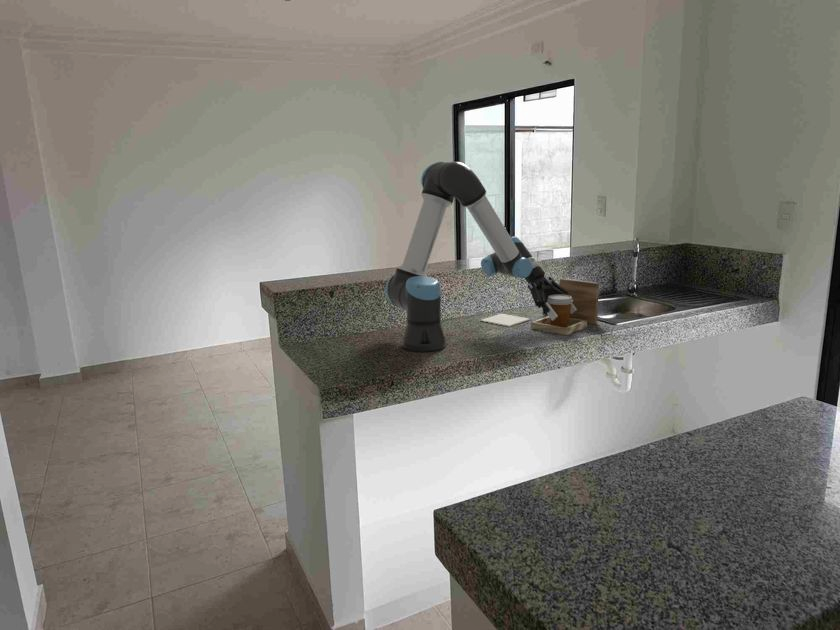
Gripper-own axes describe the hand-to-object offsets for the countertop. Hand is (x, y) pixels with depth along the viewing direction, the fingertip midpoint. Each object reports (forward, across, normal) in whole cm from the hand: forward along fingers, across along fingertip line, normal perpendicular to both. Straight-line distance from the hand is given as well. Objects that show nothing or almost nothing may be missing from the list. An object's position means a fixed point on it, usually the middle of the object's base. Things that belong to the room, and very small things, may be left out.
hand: (564, 315), depth 227 cm
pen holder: (-8, +20, +16) cm, 27 cm away
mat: (-13, -4, +21) cm, 25 cm away
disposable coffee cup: (+2, 0, +6) cm, 6 cm away
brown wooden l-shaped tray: (+2, +3, +5) cm, 7 cm away
